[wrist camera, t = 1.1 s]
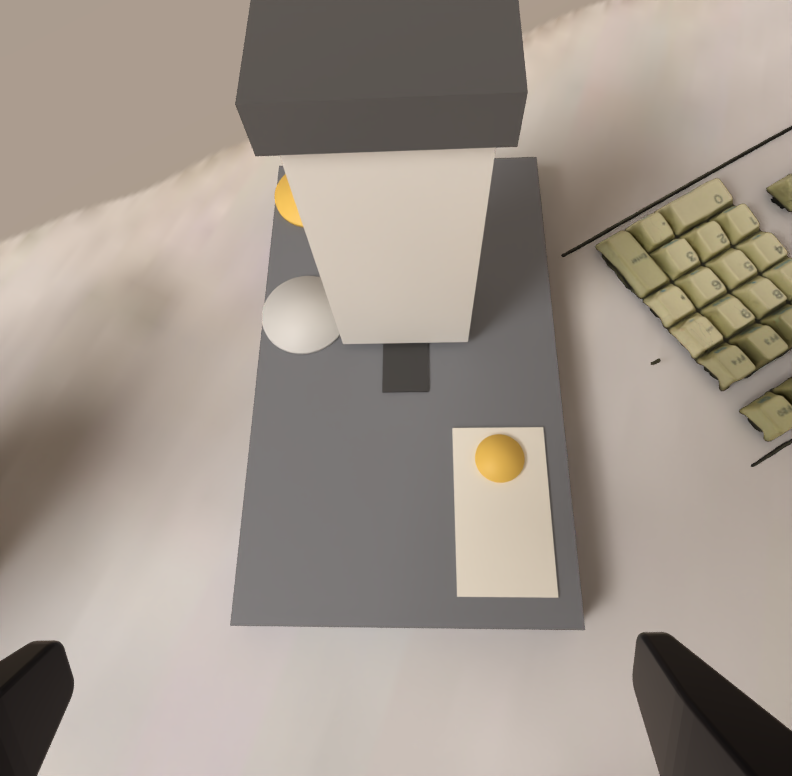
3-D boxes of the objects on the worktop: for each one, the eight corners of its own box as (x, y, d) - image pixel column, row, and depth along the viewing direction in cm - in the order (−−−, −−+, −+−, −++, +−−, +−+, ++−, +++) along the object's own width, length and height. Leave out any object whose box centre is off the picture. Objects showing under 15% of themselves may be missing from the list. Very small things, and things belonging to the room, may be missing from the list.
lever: (478, 351, 22) (527, 92, 11) (332, 353, 22) (235, 103, 11) (474, 268, 23) (514, -37, 12) (337, 271, 24) (254, -23, 13)
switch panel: (574, 628, 20) (586, 630, 18) (243, 623, 21) (227, 626, 19) (530, 171, 27) (536, 144, 26) (287, 179, 28) (278, 154, 26)
